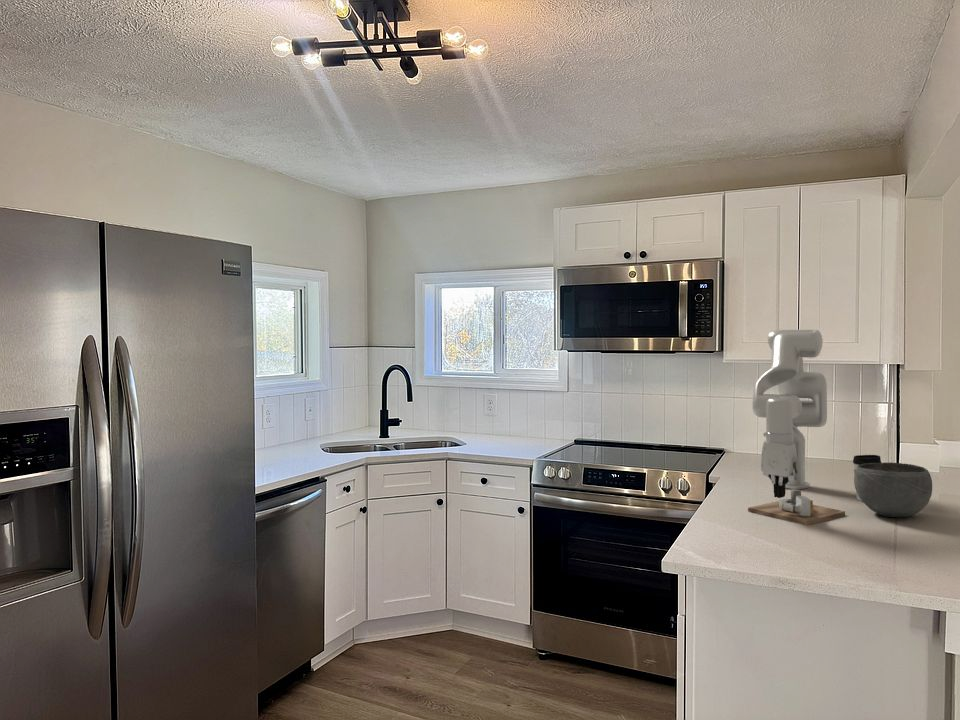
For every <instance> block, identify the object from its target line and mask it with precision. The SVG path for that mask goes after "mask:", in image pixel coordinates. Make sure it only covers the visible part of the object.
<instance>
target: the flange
mask: <svg viewBox="0 0 960 720" xmlns="http://www.w3.org/2000/svg"><path fill="white" fill-rule="evenodd" d="M810 500H811V499H810V498H809V497H808V496H805V495H801V496H796V504H792V503H791V498H783V499H779V500H778V501H779V507H780V508H781V509H783V510H786V511H791V512H794V511H795V512H797V513H798V514H799V515H801V516H810Z"/></svg>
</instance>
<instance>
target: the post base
mask: <svg viewBox="0 0 960 720" xmlns="http://www.w3.org/2000/svg"><path fill="white" fill-rule="evenodd" d="M796 496H802V489H790V499H791V503H792V504H796ZM748 511H750V512H749V513H753V512H754V513H753V514H757V513H758V515H761V514H762V516H766V517H771V518H774V519H779V520H784V521H788V522H791V523H796V524H800V525H804V526H805V525H806V526H808V525H811V524H816V523H820V522H825V521H829V520H832V519H835V518H839V517H840V518H841V517H843V516H846V511H844V510H840V509H835V508H830V507H827V506H826V507H825V506H820V505H816V504H814V500H812V499H810V516H801V515H799V514H798V513H797V512H795V511H794V512H791V511H786V510H783V509H781V508H780V507H779V500H777V501H776V500H775V501H772V502H768V503H767V502H766V503H763V504H758V505H754V506H750V507H747V512H748Z"/></svg>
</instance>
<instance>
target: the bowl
mask: <svg viewBox="0 0 960 720" xmlns="http://www.w3.org/2000/svg"><path fill="white" fill-rule="evenodd" d="M853 476H854V478H853V483H854V485H853V486H854V489H855V492H857V494H858V496H859V497H860V499H861V500H862V501H861V502H862V503H863V504H865V506H867V508H869V509H870V510H871V511H873V512H875V513H876V514H878V515H880V516H884V517H888V518H889V517H890V518H906V517H911V516H915V515H916V514H918V513H919V512H921V511H923V509H924V508H925V507H927V505H928V504H929V502H930V500H931V497H932V495H933V480H932V476H931V473H930V472H929V470H928V469H927V468H926V467H924V466H920V465H917V464H911V463H902V462H881V463H866V464H861V465H859V466H858V467H857V469H856V471H855V474H854V475H853Z"/></svg>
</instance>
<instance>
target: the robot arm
mask: <svg viewBox="0 0 960 720" xmlns="http://www.w3.org/2000/svg"><path fill="white" fill-rule="evenodd" d="M767 342H768V343H767V344H768V346H769V348H770V349H771V359H770V369H768V370H767V371H765V372H764V373H763V374H762V375H761V376H760V377H759V378H758V379H757V381H756V383H755V386H754V389H753V395H752V397H753V398H752V412H753V413H754V414H753V415H755V416H756V417H757V418H764V419H765V418H766V422H765V427H766V428H765V430H766V431H764V432H763V437H765V439H766V440H764V441H763V445H762V449H761V456H760V471H761V472H762V475H763V476H765V477H767V478H769V479H770V481H771V484H772V485H773V497H774V498H777V499H781V498H784V497H786V489H790V490H792V489H797V490H804V489H808V488H810V487H811V486H810V483H809V482H807V481H806V438H805V436H804V434H803V433H802V432H801V430H799V427H800V428H801V427H803V428H805V427H806V428H821V427H824V426H826V424H827V421H828V400H827V399H828V393H827V392H828V388H827V387H828V386H827V379H826V377H825V375H824V374H822V372H816V371H815V372H814V371H804V359H803V358H818V356H819V355H820V353H821V351H822V347H823V335H822V333H821V332H820V331H819V330H818V329H777V330H772V331H770V332H769V333H768V335H767ZM776 386H778V387H777V388H778V392H779V394H775V393H774V394H771V393H768V394H767V393H765V392H766V391H768V390H769V389H771V388H773V387H776ZM801 399H811V400H801Z"/></svg>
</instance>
